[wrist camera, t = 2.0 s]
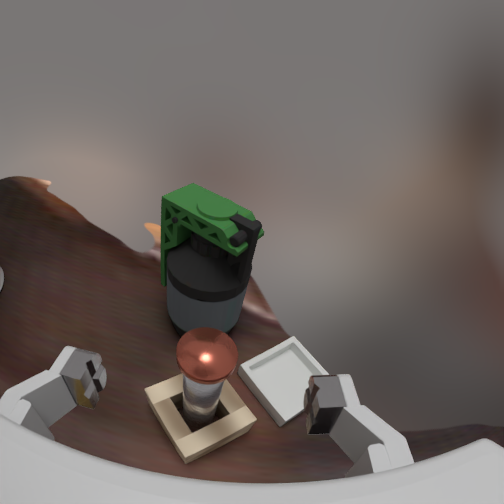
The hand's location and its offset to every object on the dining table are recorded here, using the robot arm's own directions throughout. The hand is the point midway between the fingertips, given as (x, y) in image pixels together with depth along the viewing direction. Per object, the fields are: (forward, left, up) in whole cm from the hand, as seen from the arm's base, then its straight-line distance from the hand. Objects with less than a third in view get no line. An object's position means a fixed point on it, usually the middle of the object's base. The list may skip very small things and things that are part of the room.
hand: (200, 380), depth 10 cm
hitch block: (+4, +5, -26) cm, 27 cm away
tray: (+17, +4, -26) cm, 31 cm away
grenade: (+12, +20, -26) cm, 35 cm away
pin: (+4, +5, -26) cm, 27 cm away
